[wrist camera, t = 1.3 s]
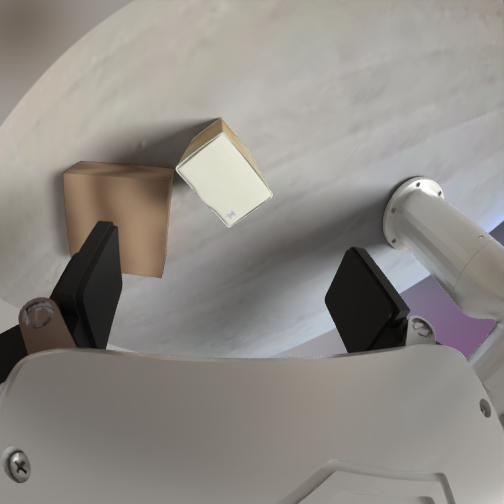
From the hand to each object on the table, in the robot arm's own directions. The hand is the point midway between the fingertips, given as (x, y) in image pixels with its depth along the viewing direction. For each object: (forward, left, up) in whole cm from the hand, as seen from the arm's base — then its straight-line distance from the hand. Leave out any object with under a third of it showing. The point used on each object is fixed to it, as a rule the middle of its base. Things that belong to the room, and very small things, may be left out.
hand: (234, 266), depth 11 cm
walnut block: (+11, +9, -22) cm, 26 cm away
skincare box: (0, 0, -22) cm, 22 cm away
